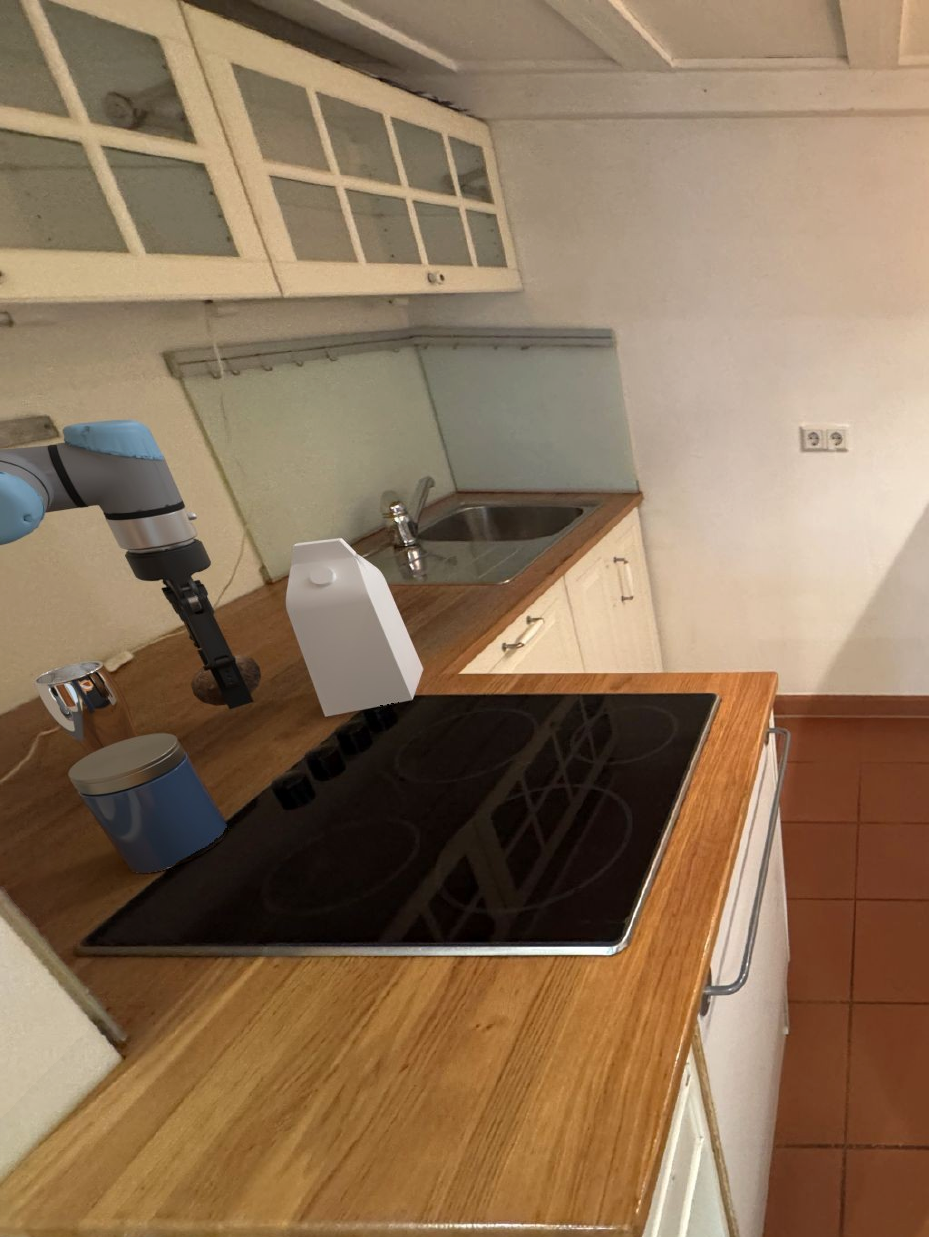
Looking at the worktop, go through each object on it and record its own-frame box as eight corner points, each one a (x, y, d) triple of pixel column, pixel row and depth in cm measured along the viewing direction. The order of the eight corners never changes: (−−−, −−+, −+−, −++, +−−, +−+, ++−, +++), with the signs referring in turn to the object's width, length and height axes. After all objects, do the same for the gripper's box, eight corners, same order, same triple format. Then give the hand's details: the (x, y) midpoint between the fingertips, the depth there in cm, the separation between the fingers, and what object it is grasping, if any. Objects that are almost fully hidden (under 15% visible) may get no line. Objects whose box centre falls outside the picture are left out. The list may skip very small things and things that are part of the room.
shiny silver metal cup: (161, 744, 103) (109, 655, 96) (154, 766, 98) (98, 673, 91) (96, 762, 99) (38, 670, 93) (85, 786, 94) (22, 690, 88)
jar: (134, 886, 77) (73, 796, 72) (123, 850, 83) (66, 764, 77) (236, 841, 83) (187, 755, 78) (220, 811, 89) (173, 728, 83)
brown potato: (247, 657, 105) (218, 638, 100) (288, 681, 104) (261, 663, 99) (199, 699, 101) (167, 681, 96) (241, 725, 100) (211, 709, 95)
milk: (423, 669, 122) (372, 526, 111) (412, 699, 113) (355, 546, 101) (343, 683, 118) (281, 537, 107) (325, 716, 109) (255, 559, 97)
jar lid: (80, 806, 72) (70, 791, 72) (73, 774, 78) (63, 760, 77) (191, 765, 78) (183, 751, 78) (178, 738, 84) (170, 724, 83)
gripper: (215, 551, 87) (285, 707, 97) (185, 524, 99) (250, 666, 109) (133, 568, 82) (216, 731, 92) (112, 537, 94) (187, 684, 104)
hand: (234, 695), depth 101 cm, fingers closed on brown potato, 7 cm apart
